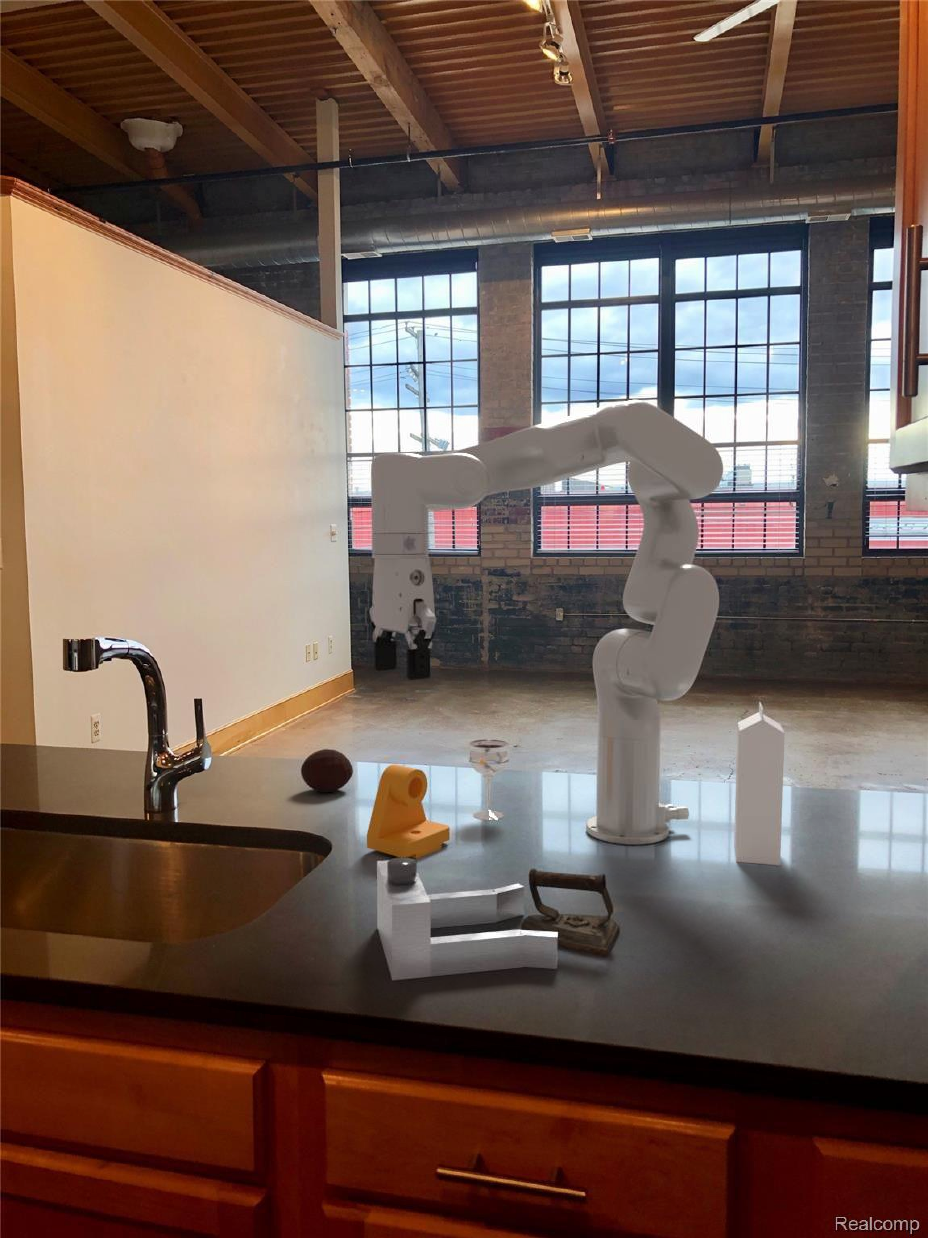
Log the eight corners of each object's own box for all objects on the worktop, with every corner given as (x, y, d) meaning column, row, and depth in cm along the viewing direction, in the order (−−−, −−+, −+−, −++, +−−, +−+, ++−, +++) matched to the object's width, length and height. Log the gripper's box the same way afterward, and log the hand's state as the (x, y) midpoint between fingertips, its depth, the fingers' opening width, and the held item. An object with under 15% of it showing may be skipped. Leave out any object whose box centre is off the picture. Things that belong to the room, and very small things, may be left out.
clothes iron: (615, 962, 98) (593, 876, 98) (518, 969, 103) (496, 886, 102) (626, 930, 105) (605, 849, 104) (535, 937, 109) (514, 860, 108)
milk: (735, 862, 128) (739, 708, 126) (733, 848, 134) (736, 700, 132) (781, 866, 126) (785, 710, 124) (777, 851, 132) (781, 702, 130)
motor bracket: (521, 911, 111) (521, 831, 110) (560, 968, 96) (561, 877, 95) (376, 923, 107) (375, 841, 106) (393, 986, 92) (393, 890, 91)
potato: (301, 786, 167) (300, 745, 166) (352, 784, 168) (351, 743, 168) (301, 799, 159) (300, 755, 158) (354, 796, 160) (354, 753, 160)
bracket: (404, 864, 127) (403, 780, 126) (366, 853, 131) (366, 772, 130) (452, 844, 135) (452, 765, 134) (415, 834, 140) (415, 758, 139)
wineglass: (465, 821, 146) (465, 747, 145) (469, 808, 153) (470, 738, 152) (507, 822, 146) (508, 749, 144) (510, 810, 152) (510, 739, 151)
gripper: (457, 547, 116) (457, 680, 117) (396, 546, 130) (397, 664, 132) (404, 548, 112) (406, 685, 113) (348, 547, 127) (349, 668, 128)
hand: (401, 674), depth 123 cm, fingers open, 9 cm apart
